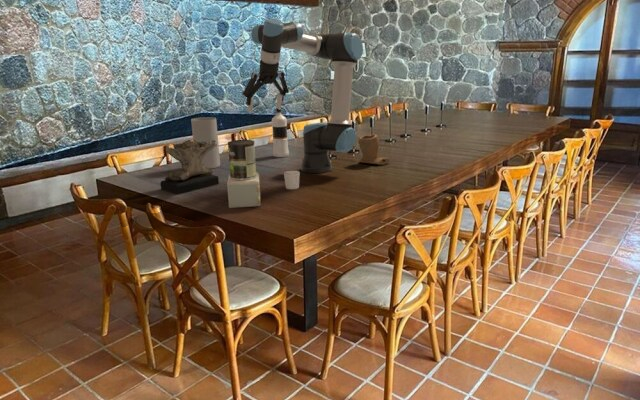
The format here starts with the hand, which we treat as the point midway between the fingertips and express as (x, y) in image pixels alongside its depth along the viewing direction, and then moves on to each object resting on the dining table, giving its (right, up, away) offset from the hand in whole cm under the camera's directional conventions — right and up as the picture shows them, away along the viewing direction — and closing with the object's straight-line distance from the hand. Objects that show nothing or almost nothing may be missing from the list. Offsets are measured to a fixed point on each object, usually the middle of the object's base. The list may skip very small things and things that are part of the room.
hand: (264, 110), depth 210 cm
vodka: (+1, -13, +75) cm, 76 cm away
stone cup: (+51, -19, +50) cm, 74 cm away
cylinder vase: (-35, -20, +54) cm, 68 cm away
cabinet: (-7, -38, -9) cm, 40 cm away
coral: (-32, -32, +15) cm, 47 cm away
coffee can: (-7, -29, -12) cm, 32 cm away
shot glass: (+11, -32, +10) cm, 36 cm away
